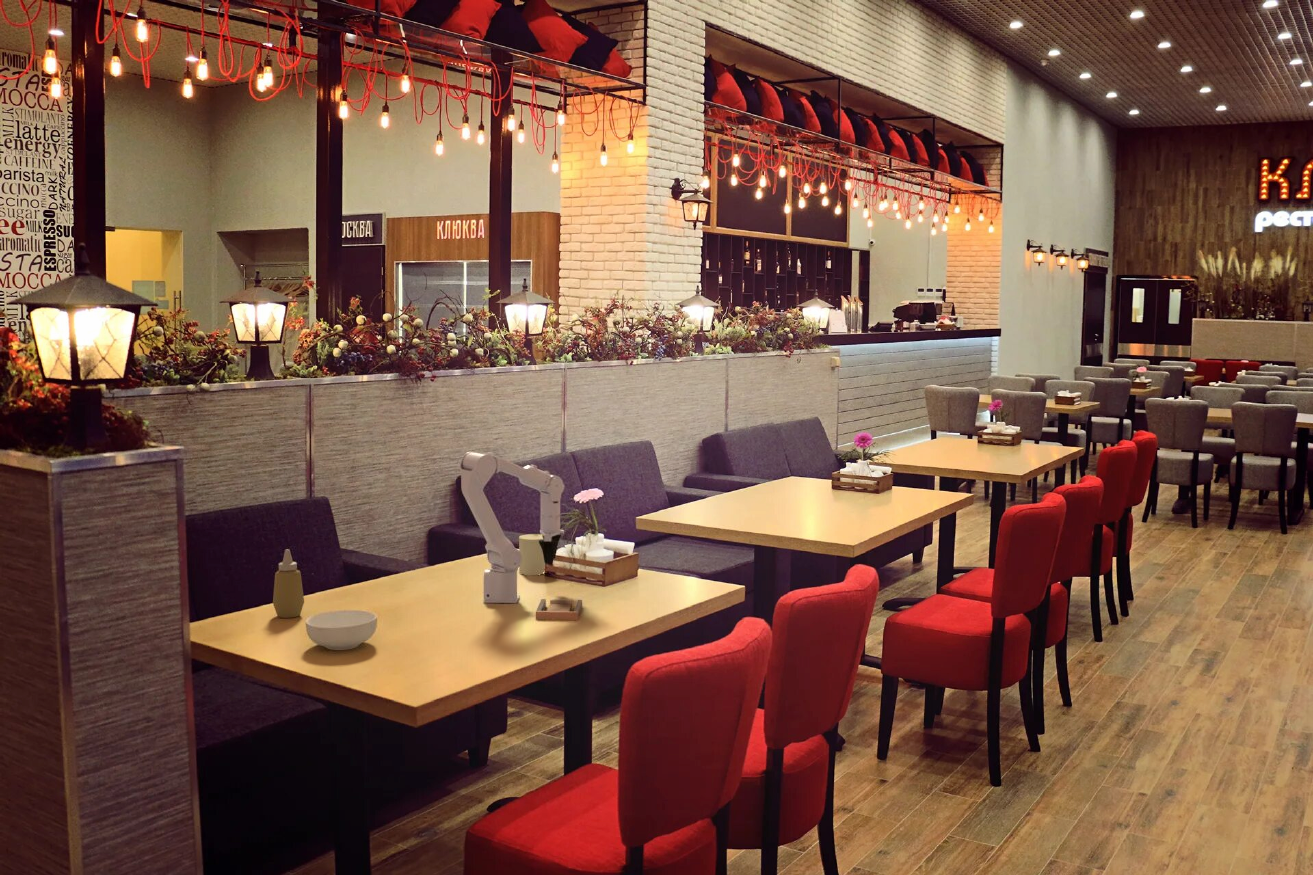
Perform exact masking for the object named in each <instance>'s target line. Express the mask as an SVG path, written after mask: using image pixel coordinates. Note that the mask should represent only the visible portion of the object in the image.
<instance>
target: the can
mask: <svg viewBox="0 0 1313 875" xmlns="http://www.w3.org/2000/svg"><path fill="white" fill-rule="evenodd" d="M539 540H544V539H543V537H542V534H541V533H529V534H521V535H519V537H518V542H519V544H518V546H519V547H518V549H519V551H520V553H521V555H522V562H521V565H520V566H519V567H518V573H520V574H519V575H522V574H524V575H523V576H527V575H539V574H543V572H544V569H545V562H544V556H543V552H542V548H541V546H540V544H539ZM539 576H540V575H539Z"/></svg>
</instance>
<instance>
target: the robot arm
mask: <svg viewBox="0 0 1313 875" xmlns="http://www.w3.org/2000/svg"><path fill="white" fill-rule="evenodd" d="M458 469H459V471H460V478H461V479H460V480H461V482H460V483H461V484H460V485H461V486H460V487H461V488H460V489H461V492H462V495H463V497H464V498H465V501H466V503H467V505H468V506H469V509H470V511H471V513H472V515H473V518H474V519H475V521H476V523H477V524H478V527H479V529H480V531H481V533H482V535H483V537H484V539H485V541H486V544H485V545H484V548H485V551H486V558H487V561H488V562H489V564H491V565H490V568H488V569H487V568H486V569H484V571H483V572H484V573H483V601H482V602H483V603H485V604H487V603H492V604H495V603H496V604H499V603H500V604H502V603H503V604H508V603H509V604H517V603H518V601H519V599H520V597H521V595H520V594H518V572H519V566H520V565H521V562H522V555H521V553H520V551H519V550H518V549H517V548H516V547H515V546H514V543H512V541H511V540H509V538H508V537H507V536H505V533H504V531H503V529H502V527H501V525H500V523H499V520H498V519H497V516H496V514H495V512H494V511H493V508H492V506H491V505H490V503H489V500H488V498H487V496H486V493H485V492H484V488H485V487H486V485H487V484H488V482H489V481H490V480H491V478H492V477H493V476H494V474H495V473H496V474H498V473H500V472H502V473H504V474H507V475H511V476H514V478H515V477H516V478H518V480H519V483H520V484H521V485H524V486H527V487H529V488H532V489H534V490H536V491H538V492H539V493H540V530H539V534H541V535H542V537H543V539H544V540H539V544H540V546H541V548H542V552H543V556H544V562H545V564H547V565H553V563H554V559H556V556H557V551H558V545H559V542H560V539H561V537H562V534H564V533H565V529H561V499H562V493H563V492H564V490H565V485H566V484H564V481H563V479H562V478H561V477H560V476H559V475H554V474H551V473H550V471H548V470H542V469H539V468H538V466H537V465H535V464H530V465H524V466H520V465H519V464H516V463H514V462H512V461H510V460H507V459H505V458H503V457H500V456H495V455H491V454H487V453H486V454H485V453H479V452H476V451H468V452H466V453H465V454H463V456H462V458H461V460H460V462H459V465H458Z"/></svg>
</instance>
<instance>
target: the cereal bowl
mask: <svg viewBox="0 0 1313 875" xmlns="http://www.w3.org/2000/svg"><path fill="white" fill-rule="evenodd" d="M377 627H378V615H377V614H376V613H374V612H373V611H372V612H371V611H367V610H362V609H359V610H358V609H340V610H339V609H338V610H331V611H326V612H320V613H318V614H314V615H312V616H309V617H307V619H306V620H305V629H306V633H307V637H308V638H309V640H310V641H312V642H313V644H316V645H318V646H321V647H324V648H326V649H328V650H331V651H347V650H348V651H349V650H351V649H355V648H357V647H358V646H360V644H362V643H365V642H366V641H368V640H370V639H371V638H372V636H374V634H375V633H376V630H377Z"/></svg>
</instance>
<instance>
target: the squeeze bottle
mask: <svg viewBox="0 0 1313 875" xmlns="http://www.w3.org/2000/svg"><path fill="white" fill-rule="evenodd" d="M297 566H298V563H297V562H296V561H293V557H292V554H291V551H290V549H288V548H287V549H285V550H284V554H283V559H282V562H279V563H278V570H277V571H276V572H275V573H274V584H273V585H274V586H273V598H272V604H273V607H274V610H275V612H276V615H277V617H279V618H283V619H286V618H287V619H289V618H297V617H299V616H300V615H301V613H302V610H303V607H304V604H305V597H304V590H303V589H304V588H303V581H302V574H301V571H300V570H298V567H297Z"/></svg>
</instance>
